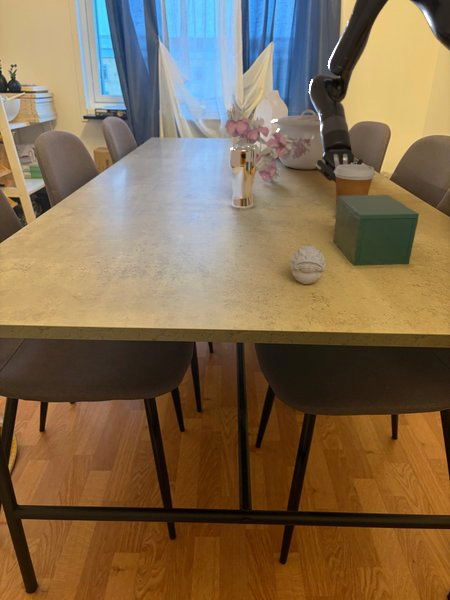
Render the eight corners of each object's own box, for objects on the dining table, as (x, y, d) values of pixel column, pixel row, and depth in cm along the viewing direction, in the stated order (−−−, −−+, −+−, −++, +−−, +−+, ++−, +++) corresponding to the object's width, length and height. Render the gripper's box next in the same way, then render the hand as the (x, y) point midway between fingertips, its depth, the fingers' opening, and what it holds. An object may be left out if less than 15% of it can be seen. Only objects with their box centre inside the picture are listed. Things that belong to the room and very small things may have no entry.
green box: (333, 241, 93) (337, 200, 89) (381, 239, 93) (388, 199, 89) (353, 265, 81) (360, 219, 77) (408, 264, 81) (418, 218, 77)
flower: (295, 189, 129) (303, 105, 128) (220, 181, 128) (227, 96, 127) (283, 202, 149) (289, 129, 148) (218, 196, 148) (224, 122, 147)
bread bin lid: (337, 199, 89) (337, 195, 89) (387, 198, 90) (387, 194, 89) (360, 219, 77) (360, 215, 76) (418, 218, 77) (419, 213, 77)
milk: (270, 147, 215) (272, 89, 203) (287, 150, 207) (290, 90, 195) (252, 150, 208) (254, 90, 196) (269, 153, 200) (272, 90, 188)
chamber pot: (343, 174, 156) (350, 112, 146) (266, 172, 159) (269, 111, 150) (337, 161, 180) (343, 107, 171) (271, 159, 184) (274, 106, 175)
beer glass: (250, 209, 115) (252, 150, 108) (226, 207, 117) (226, 149, 110) (257, 203, 120) (259, 147, 114) (234, 201, 123) (234, 145, 116)
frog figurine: (287, 291, 71) (290, 251, 68) (288, 274, 77) (291, 237, 74) (325, 293, 70) (329, 253, 67) (323, 276, 76) (327, 238, 73)
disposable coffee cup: (372, 214, 111) (380, 165, 105) (362, 223, 104) (370, 172, 98) (336, 209, 115) (341, 162, 110) (324, 218, 108) (329, 168, 102)
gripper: (314, 128, 115) (321, 185, 109) (363, 128, 115) (373, 184, 110) (308, 146, 122) (314, 200, 117) (354, 146, 122) (363, 199, 117)
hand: (343, 192), depth 113 cm, fingers closed
